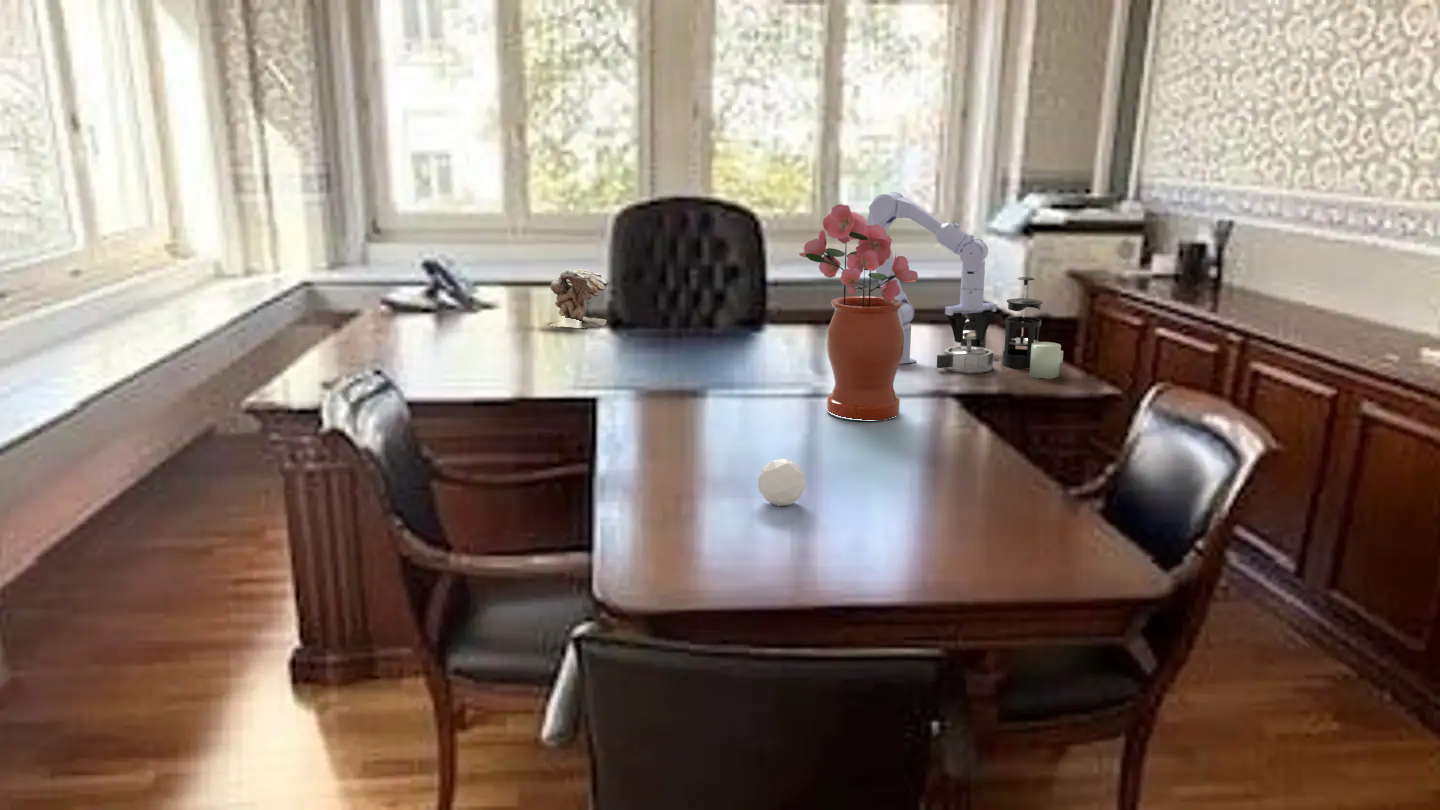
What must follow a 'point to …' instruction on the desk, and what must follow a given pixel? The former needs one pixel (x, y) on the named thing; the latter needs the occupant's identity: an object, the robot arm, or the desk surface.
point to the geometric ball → (781, 482)
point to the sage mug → (1045, 359)
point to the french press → (1022, 356)
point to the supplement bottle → (971, 325)
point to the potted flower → (862, 318)
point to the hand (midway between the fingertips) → (969, 340)
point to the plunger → (969, 344)
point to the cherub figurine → (577, 294)
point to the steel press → (965, 361)
